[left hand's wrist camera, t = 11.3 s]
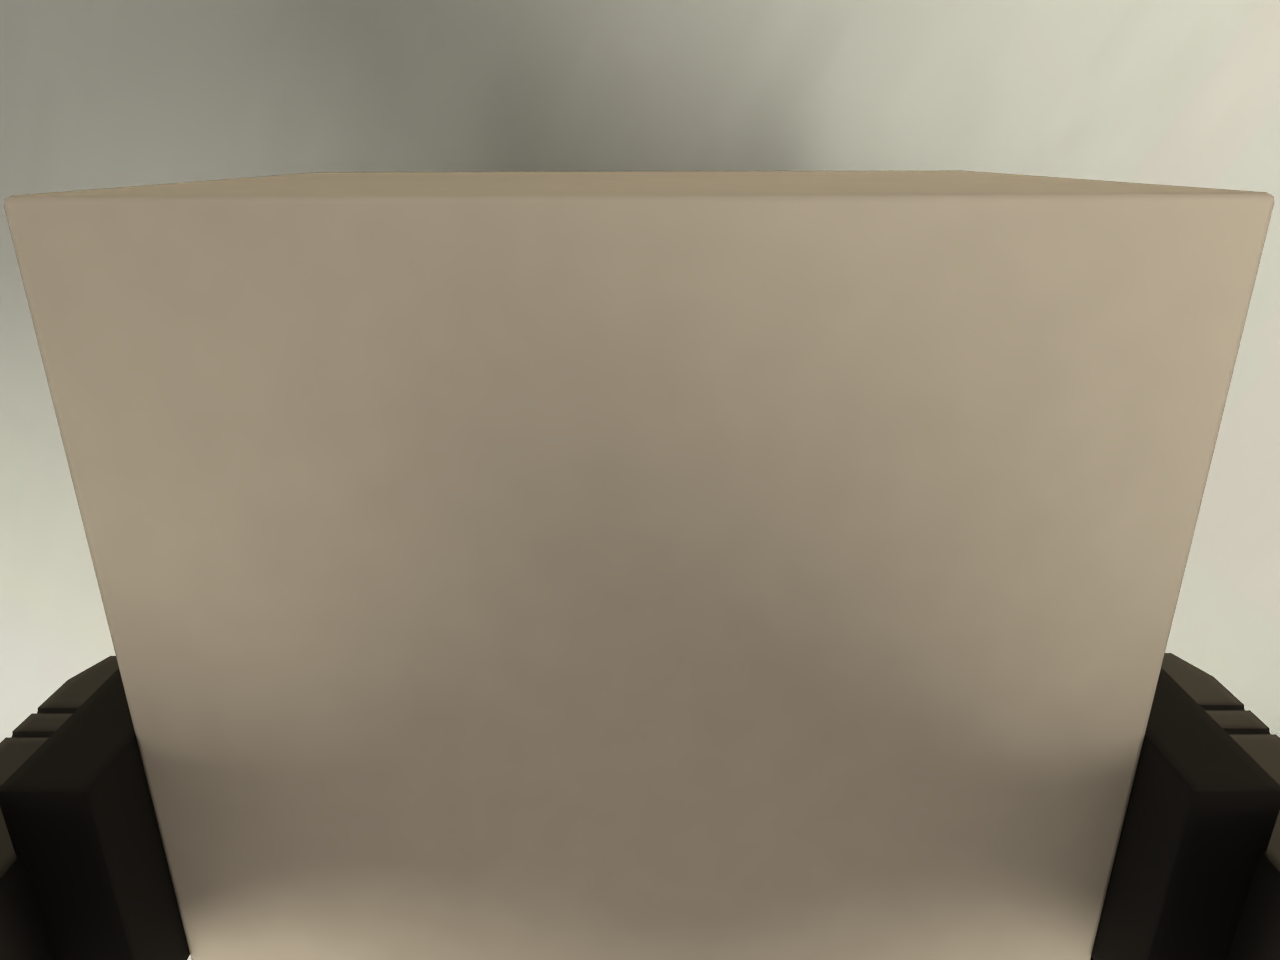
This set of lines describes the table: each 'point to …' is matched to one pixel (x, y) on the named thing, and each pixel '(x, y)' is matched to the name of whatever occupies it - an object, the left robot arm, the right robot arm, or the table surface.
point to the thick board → (640, 545)
